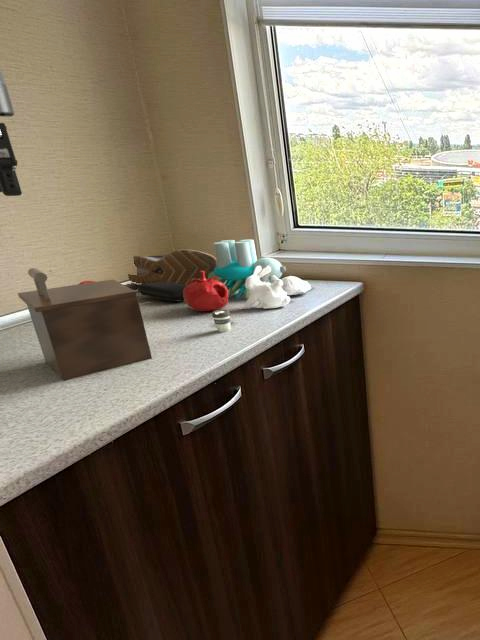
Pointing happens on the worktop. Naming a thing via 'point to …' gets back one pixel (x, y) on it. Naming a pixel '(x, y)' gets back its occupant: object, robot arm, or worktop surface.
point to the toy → (241, 265)
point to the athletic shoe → (173, 267)
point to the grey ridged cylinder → (222, 320)
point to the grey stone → (294, 285)
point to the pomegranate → (206, 294)
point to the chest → (92, 337)
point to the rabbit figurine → (265, 291)
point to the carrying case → (163, 290)
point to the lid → (71, 293)
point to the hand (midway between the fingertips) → (7, 193)
